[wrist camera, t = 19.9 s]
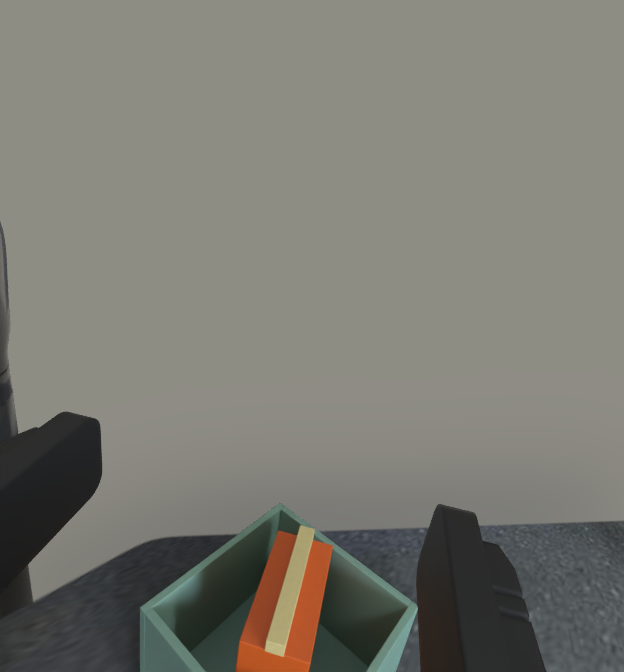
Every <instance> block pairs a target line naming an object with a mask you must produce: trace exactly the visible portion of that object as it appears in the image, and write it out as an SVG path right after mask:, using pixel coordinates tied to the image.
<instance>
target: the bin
mask: <svg viewBox="0 0 624 672" xmlns="http://www.w3.org/2000/svg"><path fill="white" fill-rule="evenodd" d="M300 525H302V526H305V527H309V528H313V529H315V528H314V527H312V526H311V525H310V524H308V523H307V522H306V521H304V520H303V519H301V518H300V517H299V516H297V515H296V514H295V513H294V512H292V511H291V510H290V509H288V508H287V507H285V506H284V505H283V504H282V503H279V504H278V505H277V506H275V507H274V508H273V509H271V510H270V511H269V512H268V513H266V514H265V515H263V516H262V517H261V518H259V519H258V520H257V521H255V522H254V523H253V524H251V525H250V526H249V527H247V528H246V529H245V530H243V531H242V532H241V533H239V534H238V535H237V536H235V537H234V538H232V539H231V540H230V541H228V542H227V543H226V544H224V545H223V546H222V547H220V548H219V549H218V550H216V551H215V552H214V553H212V554H211V555H210V556H208V557H207V558H206V559H204V560H203V561H202V562H200V563H199V564H198V565H196V566H195V567H194V568H192V569H191V570H190V571H188V572H187V573H186V574H184V575H183V576H182V577H180V578H179V579H178V580H176V581H175V582H174V583H172V584H171V585H170V586H168V587H167V588H166V589H164V590H163V591H162V592H160V593H159V594H157V595H156V596H155V597H153V598H152V599H151V600H149V601H148V602H147V603H145V604H144V605H143V606H141V607H140V672H235V669H236V662H237V654H238V646H239V640H240V637H241V634H242V632H243V629H244V626H245V623H246V620H247V618H248V615H249V612H250V609H251V606H252V603H253V601H254V598H255V595H256V592H257V589H258V587H259V584H260V581H261V578H262V575H263V572H264V570H265V567H266V564H267V561H268V558H269V556H270V553H271V550H272V547H273V544H274V541H275V539H276V536H277V533H278V531H279V530H280V531H283V532H287V533H290V534H294V535H298V531H299V528H300ZM313 540H315V541H319V542H323V543H326V544H330V545H333V549H332V554H331V559H330V564H329V570H328V575H327V580H326V585H325V590H324V596H323V601H322V606H321V611H320V617H319V622H318V627H317V632H316V637H315V643H314V648H313V653H312V658H311V663H310V668H309V672H396V669H397V666H398V664H399V661H400V658H401V655H402V652H403V649H404V647H405V644H406V641H407V638H408V635H409V632H410V629H411V627H412V624H413V621H414V618H415V615H416V612H417V610H418V607H417V605H416V604H415V603H413V602H411V600H409V599H408V598H407V597H405V596H404V595H403V594H401V593H400V592H399V591H397V590H396V589H395V588H393V587H392V586H391V585H389V584H388V583H387V582H385V581H384V580H383V579H381V578H380V577H379V576H377V575H376V574H375V573H373V572H372V571H371V570H369V569H368V568H367V567H365V566H364V565H363V564H361V563H360V562H359V561H357V560H356V559H355V558H353V557H352V556H351V555H349V554H348V553H347V552H345V551H344V550H343V549H341V548H340V547H339V546H337V545H336V544H335V543H333V542H332V541H331V540H330V539H328V538H327V537H326V536H324V535H323V534H322V533H320V532H319V531H318V530H316V529H315V532H314V537H313Z"/></svg>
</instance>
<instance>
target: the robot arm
mask: <svg viewBox="0 0 624 672" xmlns="http://www.w3.org/2000/svg"><path fill="white" fill-rule="evenodd" d="M9 333H10V310H9V298H8V280H7V258H6V246H5V239H4V234H3V229H2V226H1V223H0V593H1V592H2V591H3V590H4V589H5V588H6V587H7V586H8V585H9V584H10V583H11V582H12V581H13V580H14V579H15V577H16V576H17V575H18V574H19V573H20V572H21V571H22V570H23V569H24V568H25V567H26V566H27V565H28V564H29V562H31V560H32V559H33V558H34V557H35V556H36V555H37V554H38V553H39V552H40V551H41V550H42V549H43V548H44V547H45V546H46V545H47V543H48V542H49V541H50V540H51V539H52V538H53V537H54V536H55V535H56V534H57V533H58V532H59V531H60V530H61V529H62V528H63V527H64V525H65V524H66V523H67V522H68V521H69V520H70V519H71V518H72V517H73V516H74V515H75V514H76V513H77V512H78V511H79V510H80V509H81V508H82V506H83V505H84V504H85V503H86V502H87V501H88V500H89V499H90V498H91V497H92V496H93V494H94V493H95V491H96V489H97V487H98V485H99V483H100V480H101V476H102V454H101V431H100V424H99V421H98V420H97V419H95V418H91V417H87V416H83V415H78V414H74V413H70V412H62V413H60V414H58V415H56V416H55V417H54V418H52V419H51V420H49V421H48V422H47V423H45V424H44V425H43V426H41V427H40V428H37V427H35V428H32V429H30V430H27V431H25V432H22V433H20V434H18V428H17V420H16V413H15V405H14V398H13V390H12V384H11V376H10V369H9V360H8V341H9ZM416 587H417V607H418V626H419V646H420V665H421V672H546V670H545V667H544V663H543V660H542V657H541V653H540V650H539V647H538V644H537V640H536V637H535V634H534V630H533V627H532V624H531V622H529V614H528V611H527V607H526V604H525V601H524V599H522V595H523V594H522V591H521V588H520V584H519V581H518V578H517V574H516V571H515V568H514V567H513V565H512V564H511V563H510V561H509V560H508V558H507V557H506V556H505V554H504V553H503V551H502V550H501V548H500V547H499V546H498V545H497V544H493V543H489V542H485V541H482V537H481V533H480V529H479V525H478V520H477V517H476V515H475V513H473V512H470V511H466V510H462V509H458V508H454V507H450V506H446V505H441V504H438V505H437V507H436V509H435V511H434V514H433V517H432V520H431V523H430V526H429V529H428V532H427V535H426V538H425V541H424V544H423V547H422V550H421V554H420V557H419V562H418V568H417V580H416Z"/></svg>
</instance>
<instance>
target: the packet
mask: <svg viewBox="0 0 624 672" xmlns="http://www.w3.org/2000/svg"><path fill="white" fill-rule="evenodd" d="M314 532H315V529H313V528H309V527H305V526H302V525H300V528H299V531H298V535H294V534H290V533H287V532H283V531H280V530H279V531H278V533H277V536H276V539H275V541H274V544H273V547H272V550H271V553H270V556H269V558H268V561H267V564H266V567H265V570H264V572H263V575H262V578H261V581H260V584H259V587H258V589H257V592H256V595H255V598H254V601H253V603H252V606H251V609H250V612H249V615H248V618H247V620H246V623H245V626H244V629H243V632H242V634H241V637H240V640H239V646H238V654H237V662H236V669H235V672H309V668H310V663H311V658H312V653H313V648H314V643H315V637H316V632H317V627H318V622H319V617H320V611H321V606H322V601H323V596H324V590H325V585H326V580H327V575H328V570H329V564H330V559H331V554H332V549H333V545H330V544H326V543H323V542H319V541H315V540H313V537H314Z"/></svg>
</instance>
